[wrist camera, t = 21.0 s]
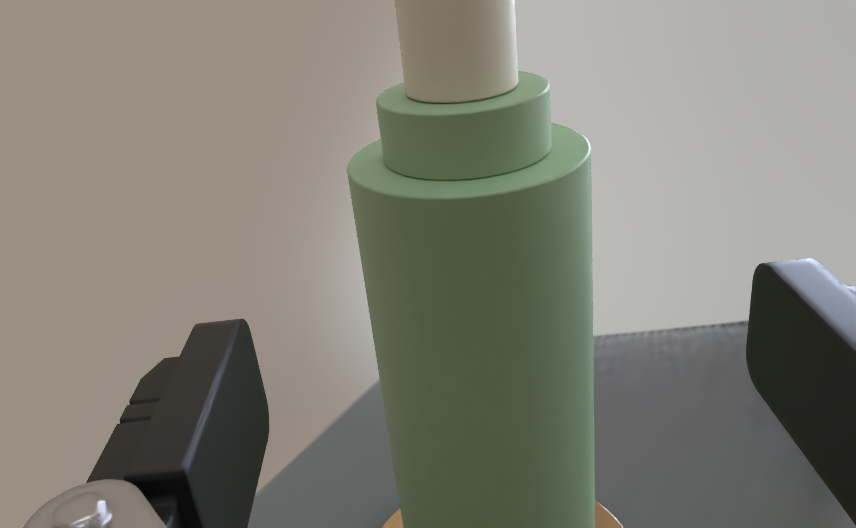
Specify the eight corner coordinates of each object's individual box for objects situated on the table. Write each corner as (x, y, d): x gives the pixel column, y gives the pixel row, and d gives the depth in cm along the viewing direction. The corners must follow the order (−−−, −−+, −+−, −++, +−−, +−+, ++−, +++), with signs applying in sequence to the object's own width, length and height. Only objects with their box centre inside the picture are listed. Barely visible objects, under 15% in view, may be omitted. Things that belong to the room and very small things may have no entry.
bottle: (376, 602, 24) (247, -79, 15) (470, 485, 28) (410, -100, 19) (545, 687, 21) (502, -107, 12) (622, 542, 25) (630, -124, 16)
